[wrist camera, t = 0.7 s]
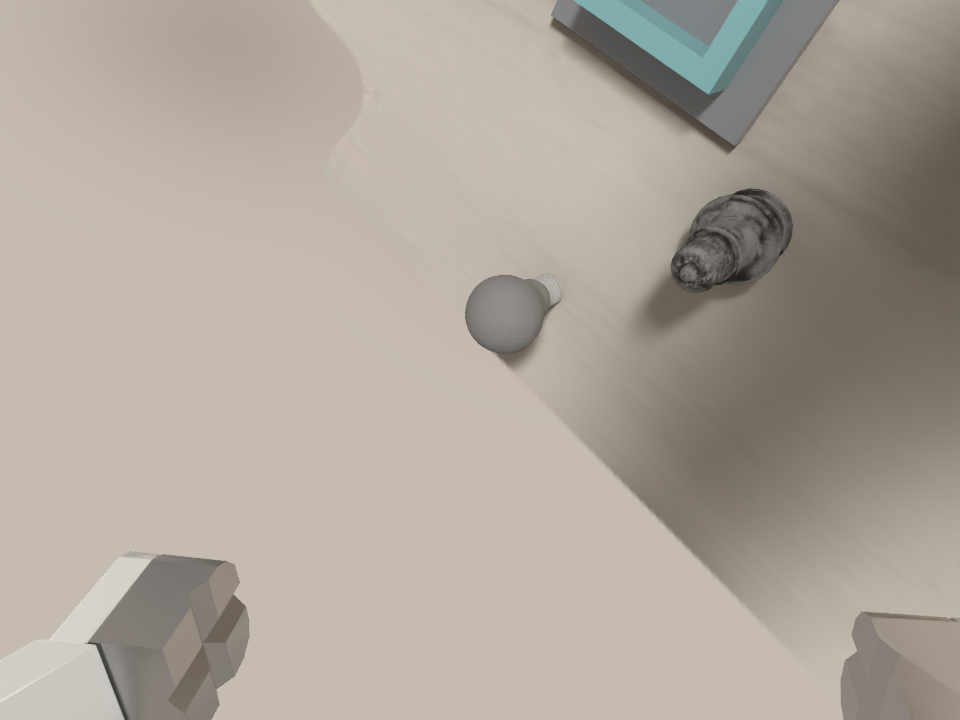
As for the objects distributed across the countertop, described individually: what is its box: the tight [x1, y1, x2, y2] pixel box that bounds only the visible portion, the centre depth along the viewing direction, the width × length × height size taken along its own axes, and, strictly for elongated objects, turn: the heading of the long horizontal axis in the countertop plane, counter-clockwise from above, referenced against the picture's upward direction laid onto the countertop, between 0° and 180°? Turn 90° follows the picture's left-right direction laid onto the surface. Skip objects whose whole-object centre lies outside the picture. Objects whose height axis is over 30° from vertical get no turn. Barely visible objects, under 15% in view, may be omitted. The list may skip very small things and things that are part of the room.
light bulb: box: [465, 274, 562, 353], centre depth 59 cm, size 6×6×10 cm
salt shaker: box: [671, 189, 793, 293], centre depth 46 cm, size 6×6×12 cm
